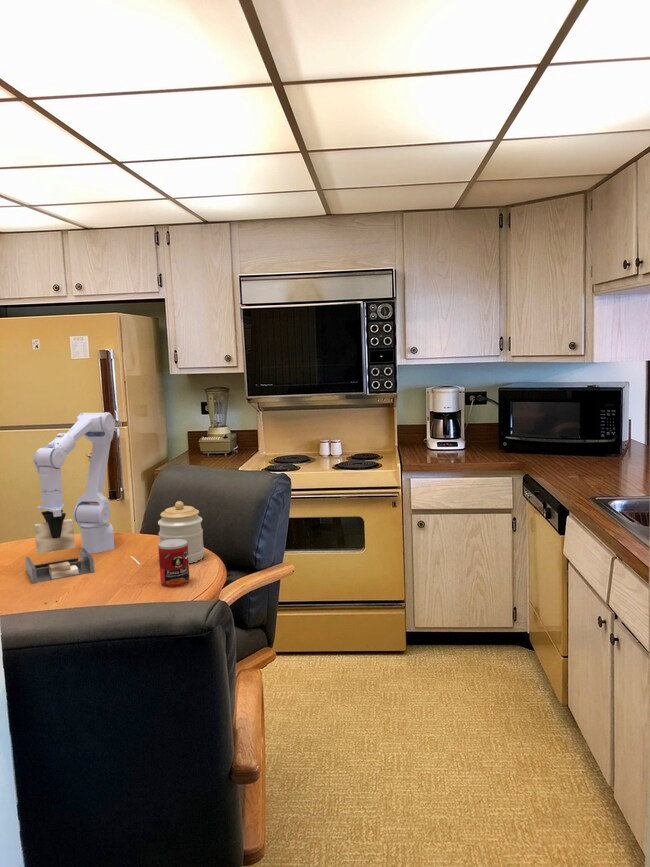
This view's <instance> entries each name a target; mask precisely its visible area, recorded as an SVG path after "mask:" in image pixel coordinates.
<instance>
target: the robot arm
mask: <svg viewBox="0 0 650 867" xmlns="http://www.w3.org/2000/svg"><path fill="white" fill-rule="evenodd" d="M75 420H76V421H75V423H74V424H73V425H72V426H71V428H69V430H67V432H60V433H58V434H56V437H55V438H54V439H53V440H52V441H50V442H48V443H47V445H46V446H45V447H40V448H38V449H37V450H36V451H35V453H34V454H33V459H32V463H33V465H34V466H35V468H36V473H37V475H39V487H40V489H39V490H40V499H41V505H37V510H38V511H41V513H40V514H42V516H43V519H44V520H45V522H48V525H49V528H50V533H51V536H52V538H53V539H54V538H60V536H61V530H62V524H63V521H64V520H65V518H66V514H67V513H65V512H64V508H65V503H64V493H63V481H62V470H61V468H62V467H63V466H64V464H65V460H66V458H67V455H68V454H70V453H71V452H72V451H73V450H74V449H75V447H76V444H77V443H76V442H77V441H78V440H80V439H81V438H82V437H83V436H84V437H85V439H86V440H88V441H90V442H91V444H92V446H91V454H90V460H89V466H88V467H89V468H88V474H87V480H86V486H85V492H84V493H83V494H82V495H81V496H79V497H78V498H77V499H76V500H77V501H76V505H75V507H74V508H73V514H72V517H73V520H74V522H75V523H76V524H77V526H78V527H80V537H81V538H80V539H81V541H80V542H81V548H84V549H85V550H86V551H87V552H88V553H89V554H99V553H102V552H106V551H107V552H108V551H112V550H115V538H114V537H115V536H114V534H115V533H114V528H113V525H112V523H111V522H109V520H110V517H111V508H110V504H111V502H110V500H109V499H108V498H107V497H106V496H105V495H104V490H105V482H106V476H107V469H108V462H109V456H110V448H111V442H112V440H114V439H113V438H114V435H115V434H114V433H115V425H116V422H115V419H114V416H113V415H112V414H111V412H110V411H105V412H85V411H84V412H81V413H80V414H79V415H77V416H76V419H75Z"/></svg>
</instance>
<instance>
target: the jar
mask: <svg viewBox="0 0 650 867" xmlns="http://www.w3.org/2000/svg"><path fill="white" fill-rule="evenodd" d="M199 514H200V511H199V509H198V508H197V509H196V508H195V507H194V506H191V505H185V504H184V502H183V501H181V500H177V501H176V502H175V504H174V506H172V507H171V506H170V507H168V508H165V509H164V510H163V511H161V513H160V517H161V518H160V519H159V520H158V521H157V525H158V526H159V532H158V536H159V543H160V542H162V541H165V540H169V539H183V540H186V541H187V544H188V559H189V563H191V564H194V563H193V562H195V563H197V562H196V561H198V560H200V559H201V558H204V554H205V548H204V538H203V537H204V536H203V535H204V534H203V531H204V530H203V528H202V524H201V523H202V521H203V518H202V516H199ZM201 560H202V559H201ZM201 560H200V561H201ZM198 562H199V561H198Z"/></svg>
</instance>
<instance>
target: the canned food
mask: <svg viewBox="0 0 650 867" xmlns="http://www.w3.org/2000/svg"><path fill="white" fill-rule="evenodd" d="M158 558H159V559H158V561H159V575H160V577H159V578H160V584H161V585H162V586H163V587H166V588H178V587H182V586H185V585H187V584H188V583H189V582H188V581H190V564H189V559H188V544H187V541H186V540H183V539H169V540H165V541H162V542H160V541H159V543H158ZM186 583H187V584H186ZM184 584H185V585H184ZM181 585H182V586H181ZM177 586H178V587H177Z"/></svg>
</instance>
